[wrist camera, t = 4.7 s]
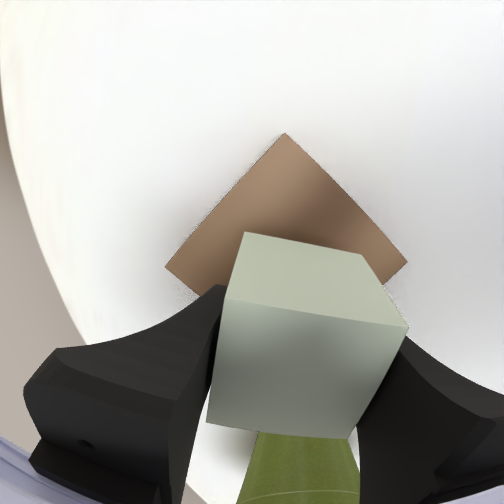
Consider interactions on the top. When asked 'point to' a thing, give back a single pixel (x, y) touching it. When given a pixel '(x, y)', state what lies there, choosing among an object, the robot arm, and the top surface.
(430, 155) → the top surface
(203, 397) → the robot arm
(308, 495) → the plant pot
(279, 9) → the top surface
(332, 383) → the sage block
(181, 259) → the brown square block
